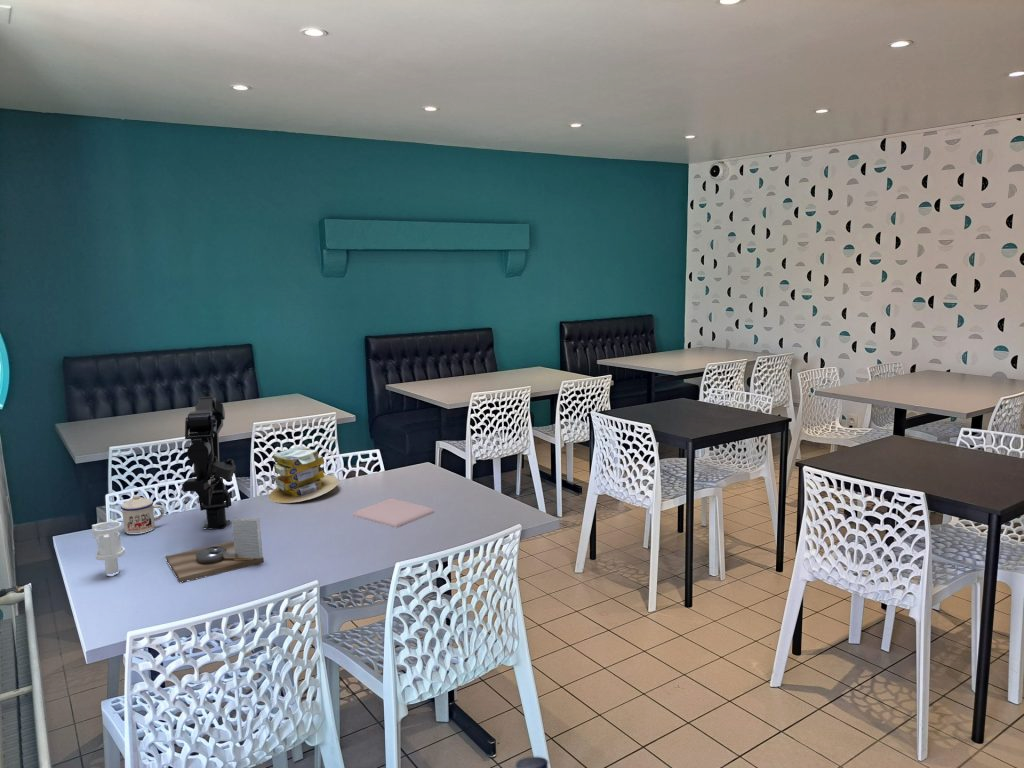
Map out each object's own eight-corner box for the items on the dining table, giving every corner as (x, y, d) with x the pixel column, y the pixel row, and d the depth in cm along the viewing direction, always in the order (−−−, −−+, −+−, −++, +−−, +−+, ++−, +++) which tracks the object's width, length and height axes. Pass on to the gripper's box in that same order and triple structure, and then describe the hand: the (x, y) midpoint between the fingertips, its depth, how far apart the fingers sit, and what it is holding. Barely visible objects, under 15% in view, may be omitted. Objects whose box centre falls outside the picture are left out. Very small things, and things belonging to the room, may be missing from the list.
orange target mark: (234, 560, 205) (234, 558, 205) (236, 558, 207) (236, 557, 206) (252, 560, 205) (251, 559, 205) (253, 558, 206) (253, 557, 206)
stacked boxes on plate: (276, 508, 252) (272, 461, 249) (263, 489, 274) (259, 446, 271) (347, 497, 264) (344, 451, 261) (329, 479, 285) (326, 437, 282)
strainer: (94, 574, 201) (88, 522, 199) (122, 566, 206) (116, 515, 203) (102, 582, 196) (96, 528, 194) (130, 573, 201) (125, 521, 198)
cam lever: (190, 563, 203) (187, 524, 201) (204, 551, 210) (201, 514, 209) (255, 563, 201) (252, 524, 200) (266, 552, 209) (263, 514, 207)
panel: (375, 498, 264) (374, 492, 263) (444, 515, 244) (444, 509, 244) (294, 527, 236) (293, 520, 236) (365, 550, 216) (365, 542, 216)
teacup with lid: (125, 538, 227) (121, 502, 226) (122, 529, 235) (118, 494, 233) (167, 530, 234) (163, 494, 232) (163, 521, 241) (160, 487, 239)
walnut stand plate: (166, 561, 209) (165, 556, 209) (245, 543, 222) (245, 538, 221) (180, 583, 195) (179, 577, 194) (263, 562, 207) (263, 557, 207)
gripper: (218, 462, 208) (223, 515, 210) (241, 446, 226) (245, 495, 228) (179, 463, 207) (184, 516, 210) (205, 447, 226) (209, 496, 228)
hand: (207, 505), depth 219 cm, fingers closed
